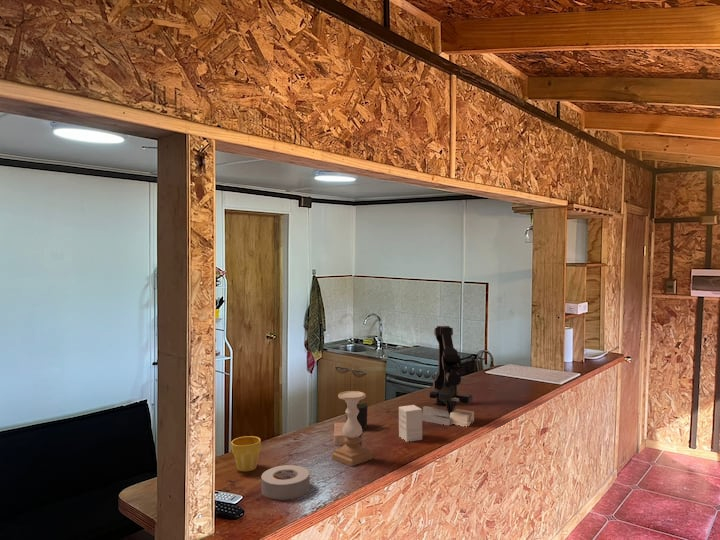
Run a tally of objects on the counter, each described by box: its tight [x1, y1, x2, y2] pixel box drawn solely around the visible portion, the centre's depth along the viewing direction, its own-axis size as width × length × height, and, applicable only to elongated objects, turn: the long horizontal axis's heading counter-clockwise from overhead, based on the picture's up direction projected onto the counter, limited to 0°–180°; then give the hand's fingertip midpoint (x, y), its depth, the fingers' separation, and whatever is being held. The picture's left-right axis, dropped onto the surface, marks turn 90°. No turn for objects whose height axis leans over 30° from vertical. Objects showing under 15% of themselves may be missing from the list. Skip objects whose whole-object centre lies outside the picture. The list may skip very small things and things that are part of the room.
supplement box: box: [398, 404, 423, 443], centre depth 224 cm, size 7×7×13 cm
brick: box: [333, 422, 346, 447], centre depth 224 cm, size 17×8×5 cm, turn 1°
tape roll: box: [260, 464, 311, 501], centre depth 176 cm, size 15×15×5 cm
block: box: [450, 408, 475, 428], centre depth 244 cm, size 8×8×5 cm
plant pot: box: [230, 435, 262, 472], centre depth 193 cm, size 10×10×10 cm
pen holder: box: [345, 403, 369, 431], centre depth 238 cm, size 9×9×10 cm
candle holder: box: [331, 390, 373, 467], centre depth 202 cm, size 11×11×24 cm
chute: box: [422, 405, 452, 426], centre depth 250 cm, size 13×18×3 cm
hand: (450, 415), depth 246 cm, fingers closed
